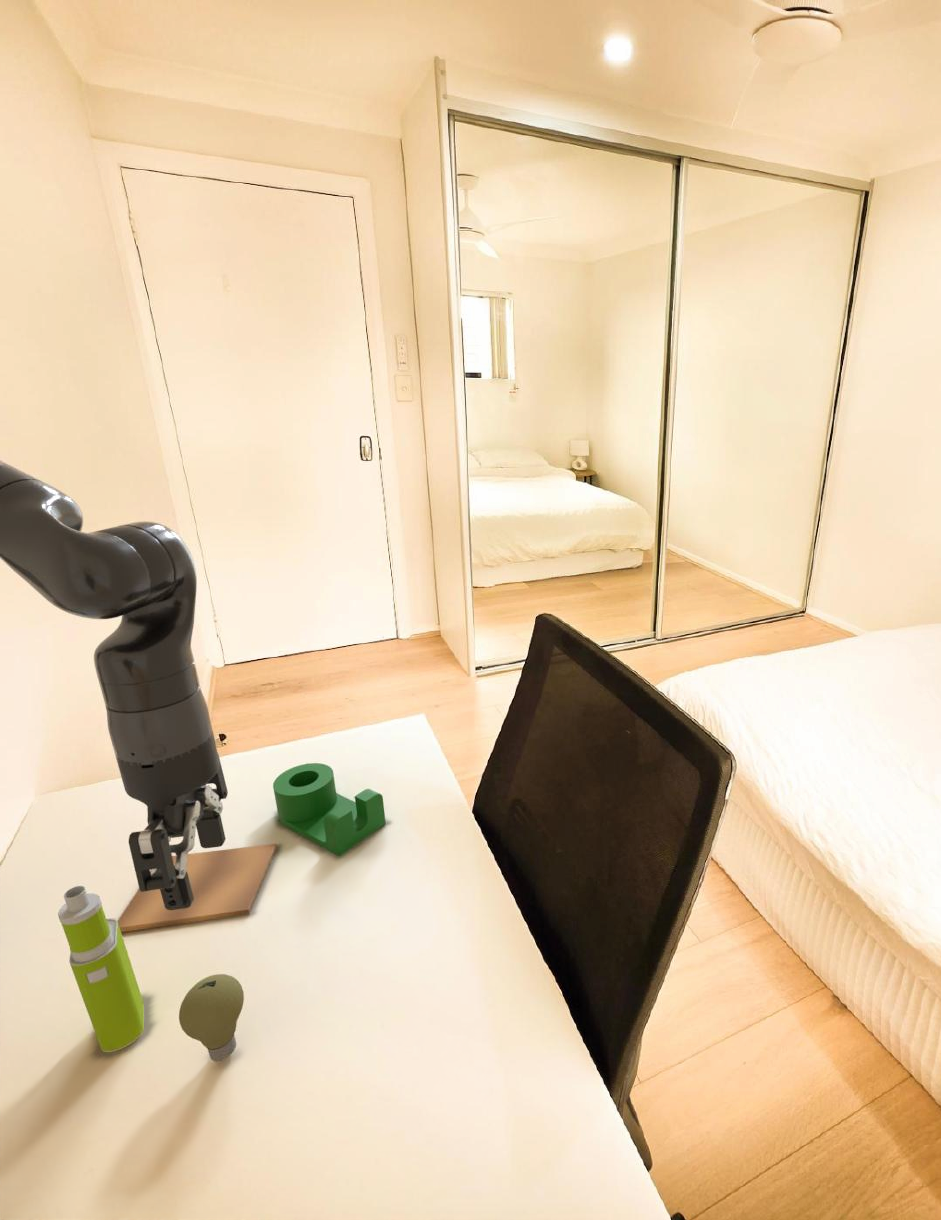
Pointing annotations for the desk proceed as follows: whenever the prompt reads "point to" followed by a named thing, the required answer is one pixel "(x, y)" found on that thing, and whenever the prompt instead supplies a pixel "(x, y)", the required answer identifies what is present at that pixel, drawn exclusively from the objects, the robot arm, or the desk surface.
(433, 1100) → the desk surface
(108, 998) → the vape
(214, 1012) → the light bulb
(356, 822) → the slotted cylinder bracket
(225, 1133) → the desk surface
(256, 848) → the brown wooden board
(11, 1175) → the desk surface
